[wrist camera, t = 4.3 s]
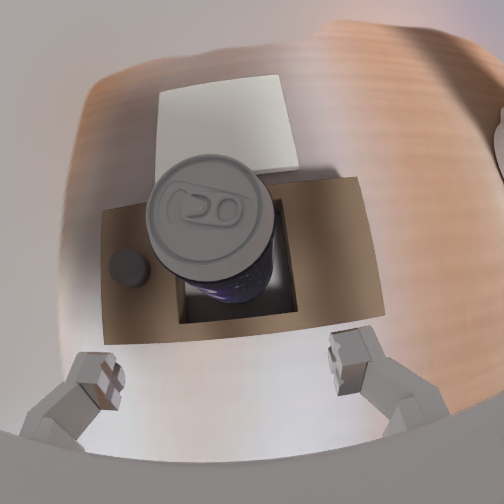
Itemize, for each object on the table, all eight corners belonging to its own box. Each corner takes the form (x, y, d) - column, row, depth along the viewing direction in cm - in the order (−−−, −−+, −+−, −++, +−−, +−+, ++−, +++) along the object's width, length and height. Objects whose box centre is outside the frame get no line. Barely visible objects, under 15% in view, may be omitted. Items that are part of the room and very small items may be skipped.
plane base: (349, 190, 25) (363, 163, 20) (373, 316, 22) (396, 313, 18) (115, 221, 25) (90, 201, 21) (119, 344, 23) (90, 345, 18)
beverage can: (205, 227, 25) (156, 143, 13) (277, 235, 24) (283, 151, 12) (192, 298, 23) (122, 267, 12) (267, 309, 23) (266, 289, 11)
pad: (277, 79, 28) (278, 74, 27) (298, 170, 25) (299, 165, 25) (161, 97, 28) (159, 92, 28) (157, 189, 26) (154, 185, 25)
